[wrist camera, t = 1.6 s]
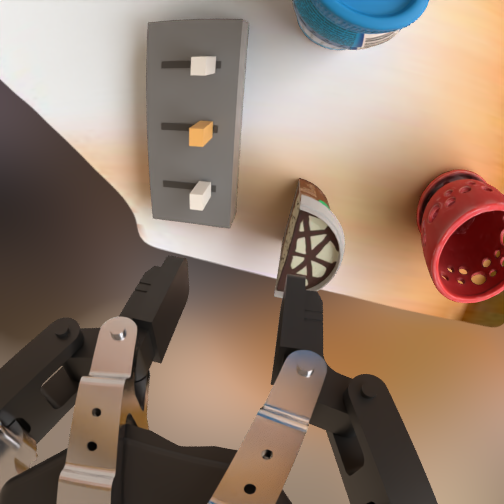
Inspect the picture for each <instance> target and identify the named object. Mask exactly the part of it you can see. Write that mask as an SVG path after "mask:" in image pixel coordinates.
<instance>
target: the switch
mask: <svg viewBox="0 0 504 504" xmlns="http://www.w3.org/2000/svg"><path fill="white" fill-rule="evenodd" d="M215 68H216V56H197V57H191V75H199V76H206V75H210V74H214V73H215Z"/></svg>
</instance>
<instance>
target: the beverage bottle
mask: <svg viewBox="0 0 504 504" xmlns="http://www.w3.org/2000/svg"><path fill="white" fill-rule="evenodd" d="M292 2H293V7H294V11H295V13H296V15H297V21H298V24H299V26H300V28H301V30H302V31H303V33H304V34H305V35H306V36H307V37H308V38H309V39H310V40H311V41H313V42H314V43H316V44H318V45H320V46H322V47H324V48H328V49H332V50H346V49H348V50H359V49H366V48H370V47H373V46H376V45H379V44H382V43H384V42H386V41H388V40H390V39H391V38H393V37H394V36H395V35H396V34H397V33H398V32H399V31H400V30H401V29H402V28H404V27H407V26H408V25H410V24H411V23H413V22H415V20H417V19H418V18H419V17H420V16H421V14H422V13H423V12H424V10H425V9H426V7H427V5H428V2H429V0H292Z"/></svg>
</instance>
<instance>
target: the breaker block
mask: <svg viewBox="0 0 504 504" xmlns="http://www.w3.org/2000/svg"><path fill="white" fill-rule="evenodd" d="M248 31H249V23H248V22H246V21H245V20H243V19H191V20H173V21H160V22H150V23H148V34H147V73H146V97H147V138H148V159H149V176H150V190H151V202H152V214H153V218H154V219H162V220H170V221H177V222H185V223H193V224H200V225H208V226H215V227H222V228H230V227H231V224H232V222H233V219H234V217H235V214H236V206H237V188H238V172H239V156H240V140H241V125H242V110H243V96H244V82H245V69H246V56H247V43H248ZM197 56H216V68H215V73H214V74H210V75H206V76H199V75H191V57H197ZM199 121H213V134H212V138H211V139H210V140H209V141H208V142H207V143H206V144H205V145H204V146H203V147H197V146H189V128H190V127H192V126H193V125H194V124H196V123H197V122H199ZM199 181H205V182H211V197H210V199H209V201H208V202H207V204H206V206H205V207H204V209H203V211H201V210H192V209H190V193H191V191H192V190H193V188H194V187H195V186H196V184H197V183H198V182H199Z"/></svg>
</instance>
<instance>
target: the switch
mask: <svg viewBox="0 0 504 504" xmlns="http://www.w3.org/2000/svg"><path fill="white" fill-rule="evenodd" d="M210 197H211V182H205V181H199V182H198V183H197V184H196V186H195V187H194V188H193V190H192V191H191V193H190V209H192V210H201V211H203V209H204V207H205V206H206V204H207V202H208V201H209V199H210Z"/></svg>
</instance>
